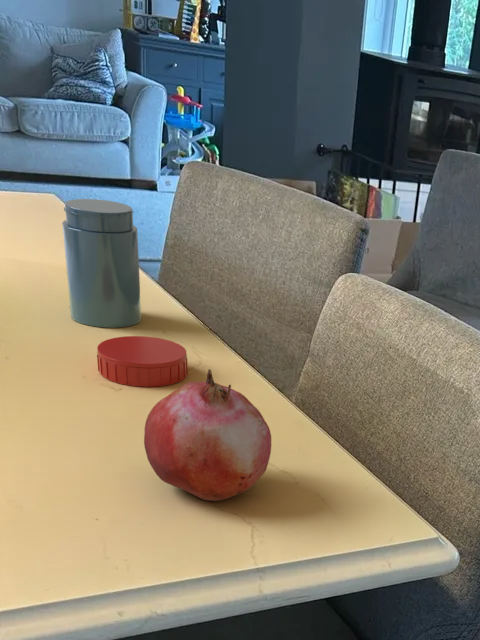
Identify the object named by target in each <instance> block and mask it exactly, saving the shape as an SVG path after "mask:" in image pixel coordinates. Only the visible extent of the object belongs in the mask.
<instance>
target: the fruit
mask: <svg viewBox="0 0 480 640" xmlns="http://www.w3.org/2000/svg"><path fill="white" fill-rule="evenodd" d="M143 445H144V450H145V454H146V458H147V460H148V461H147V462H148V463H149V465H150V467H151V469H152V470H153V471H154V473H155V475H156V476H157V477H158V478H159V479H160V480H161V481H162V482H163V483H166V484H168V485H171V486H173V487H176V488H178V489H181V490H183V491H185V492H187V493H189V494H191V495H193V496H195V497H198V498H199V499H200V500H203V501H210V502H215V501H216V502H217V501H224V500H227V499H229V498H232V497H235V496H237V495H241V494H243V493H245V492H246V491H248V490H250V489H251V488H252V487H253V486H255V485H256V483H257V482H258V481H259V480H260V479H261V477H262V476H263V475H264V474H265V473H266V472H267V469H268V465H269V463H270V458H271V453H272V433H271V429H270V427H269V425H268V423H267V421H266V420H265V418H264V416H263V415H262V413H261V411H260V410H259V409H258V408H257V407H256V406H255V405H254V404H253V403H252V402H251V401H250V400H249V399H248V397H246V396H245V395H244V394H243V393H241V392H239V391H237V390H235V389H233V388H232V384H228V386H226V385H223V384H220V383H217V382H215V380H214V378H213V372H212V370H211V369H210V368H208V369H207V374H206V379H205V381H188V382H186V383H184V384H182V385H181V386H180V387H179V388H177V389H175V390H174V391H173V392H171V393H170V394H168V395H166V396H165V397H163V398H162V399H160V400H159V401H158V402H157V403H156V404H155V405H154V406H153V407H152V408H151V410H150V411H149V412H148V415H147V417H146V419H145V425H144V435H143Z"/></svg>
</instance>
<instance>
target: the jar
mask: <svg viewBox="0 0 480 640" xmlns="http://www.w3.org/2000/svg"><path fill="white" fill-rule="evenodd" d="M63 211H64V212H65V220H63V221H62V231H63V232H62V234H63V244H64V255H65V265H66V266H65V267H66V278H67V279H66V280H67V289H68V301H69V311H70V318H71V319H72V320H73V321H75V322H76V323H79V324H82V325H85V326H90V327H97V328H106V329H107V328H109V329H111V328H112V329H113V328H114V329H115V328H127V327H132V326H135V325H138V324H139V323H140V322H141V321H142V301H141V300H142V299H141V280H140V279H141V278H140V263H139V262H140V259H139V238H138V228H137V226H135V224H134V210H133V208H132V207H131V206H130V205H128V204H125V203H122V202H117V201H113V200H105V199H96V198H76V199H69V200H67V201H65V202H64V207H63Z"/></svg>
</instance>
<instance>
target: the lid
mask: <svg viewBox="0 0 480 640" xmlns="http://www.w3.org/2000/svg"><path fill="white" fill-rule="evenodd" d="M96 349H97V354H96V359H97V371H98V372H99V374H100V375H101V376H102V377H103V378H104V379H106V380H108V381H111V382H113V383H117V384H120V385H125V386H131V387H141V388H142V387H145V388H155V387H164V386H170V385H174V384H177V383H180V382H182V381H183V380H185V379H186V377H187V375H188V374H189V372H188V354H187V349H186V348H185V347H184V346H183V345H181V344H180V343H178V342H175V341H173V340H168V339H165V338H161V337H155V336H145V335H143V336H142V335H128V336H127V335H126V336H118V337H111V338H108V339H105V340H103V341H101V342H100V343H99V344H98V345H97V348H96Z"/></svg>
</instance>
